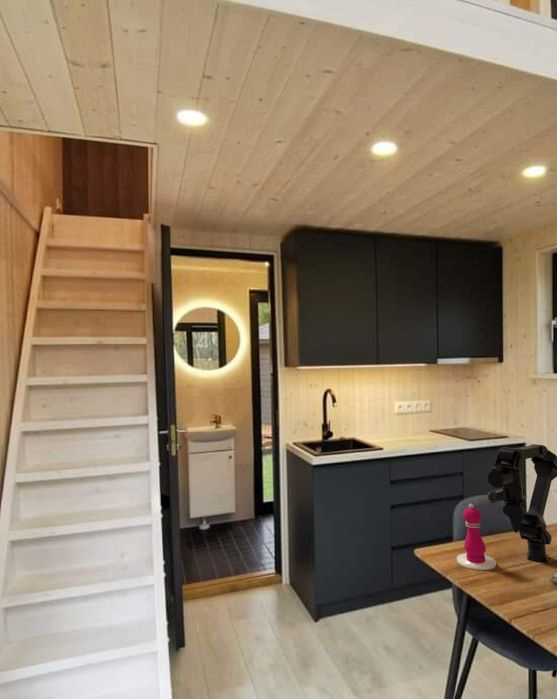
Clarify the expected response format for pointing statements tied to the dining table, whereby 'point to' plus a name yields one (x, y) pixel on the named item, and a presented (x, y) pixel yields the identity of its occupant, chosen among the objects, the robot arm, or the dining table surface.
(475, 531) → the pepper mill
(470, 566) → the ceramic plate
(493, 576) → the dining table surface
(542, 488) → the robot arm
